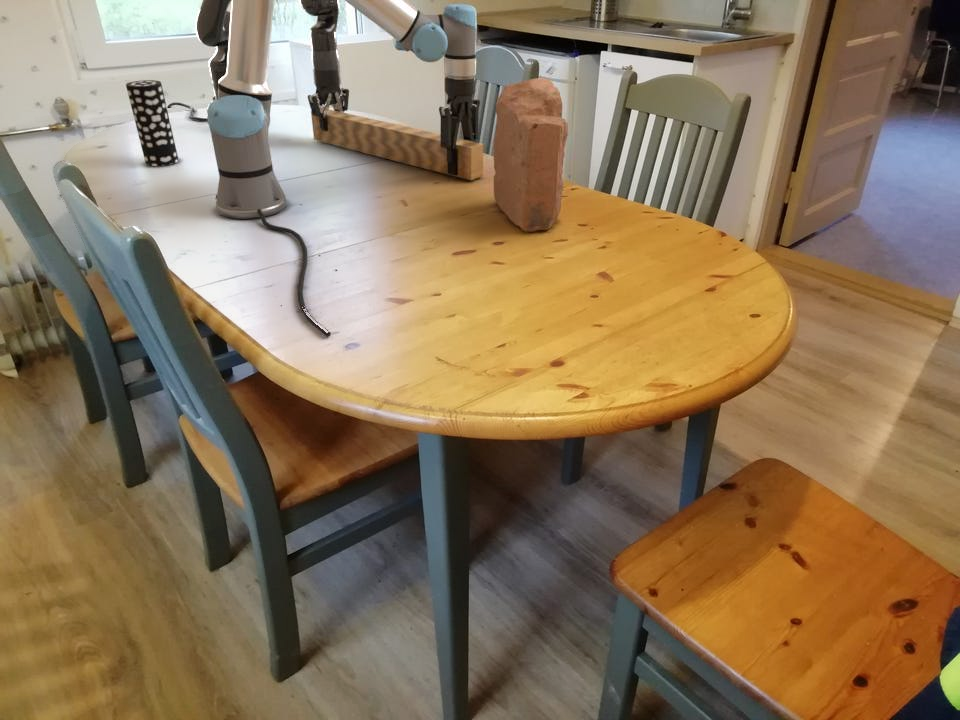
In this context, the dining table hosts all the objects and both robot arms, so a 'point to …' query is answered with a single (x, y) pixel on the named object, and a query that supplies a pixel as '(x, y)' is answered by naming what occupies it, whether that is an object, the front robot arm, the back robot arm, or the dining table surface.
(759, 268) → the dining table surface
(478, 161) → the beam
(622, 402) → the dining table surface
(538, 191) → the stone
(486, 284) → the dining table surface
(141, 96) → the black white spotted cylinder
